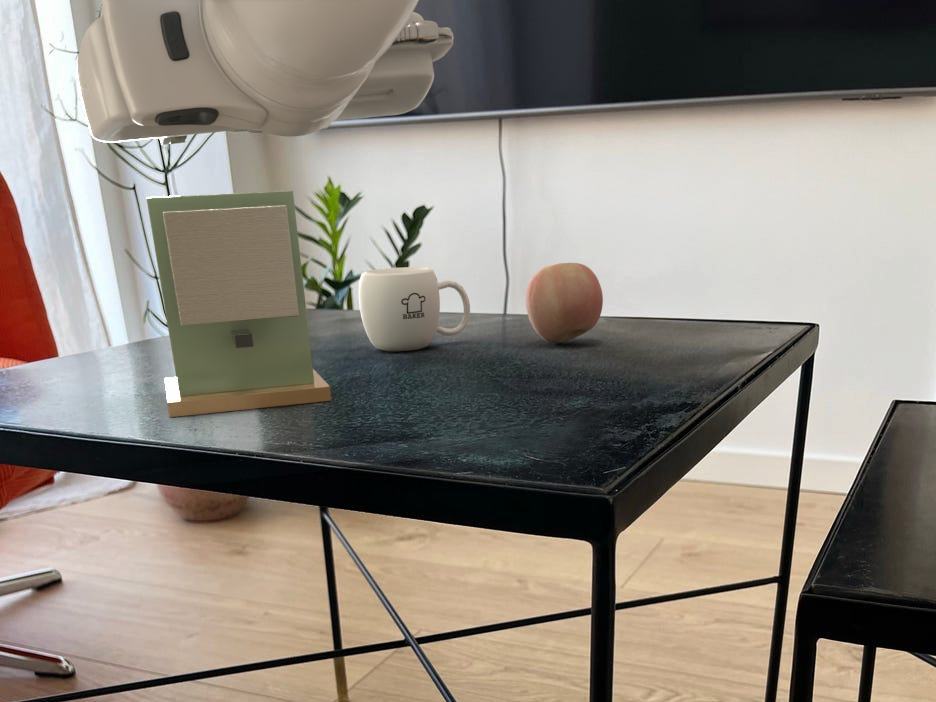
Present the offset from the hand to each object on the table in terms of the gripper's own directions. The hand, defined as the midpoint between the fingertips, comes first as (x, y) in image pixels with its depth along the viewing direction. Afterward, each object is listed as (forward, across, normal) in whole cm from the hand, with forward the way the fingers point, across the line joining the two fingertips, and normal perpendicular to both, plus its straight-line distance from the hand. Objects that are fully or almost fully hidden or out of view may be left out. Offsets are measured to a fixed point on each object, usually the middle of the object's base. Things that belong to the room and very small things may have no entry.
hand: (242, 123), depth 66 cm
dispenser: (+20, 0, +16) cm, 25 cm away
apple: (+28, -35, +16) cm, 47 cm away
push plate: (+12, +1, +11) cm, 16 cm away
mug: (+36, -22, +14) cm, 44 cm away
